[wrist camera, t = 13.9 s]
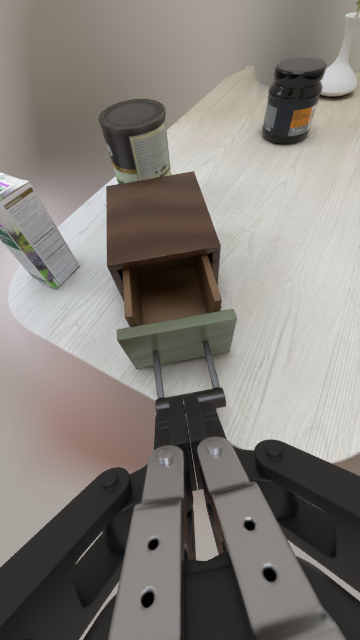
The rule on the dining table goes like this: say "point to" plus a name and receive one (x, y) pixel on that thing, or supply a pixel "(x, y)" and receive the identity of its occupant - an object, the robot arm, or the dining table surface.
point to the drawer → (175, 320)
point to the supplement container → (293, 99)
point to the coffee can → (136, 139)
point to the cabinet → (158, 224)
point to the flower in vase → (343, 62)
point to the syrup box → (33, 233)
